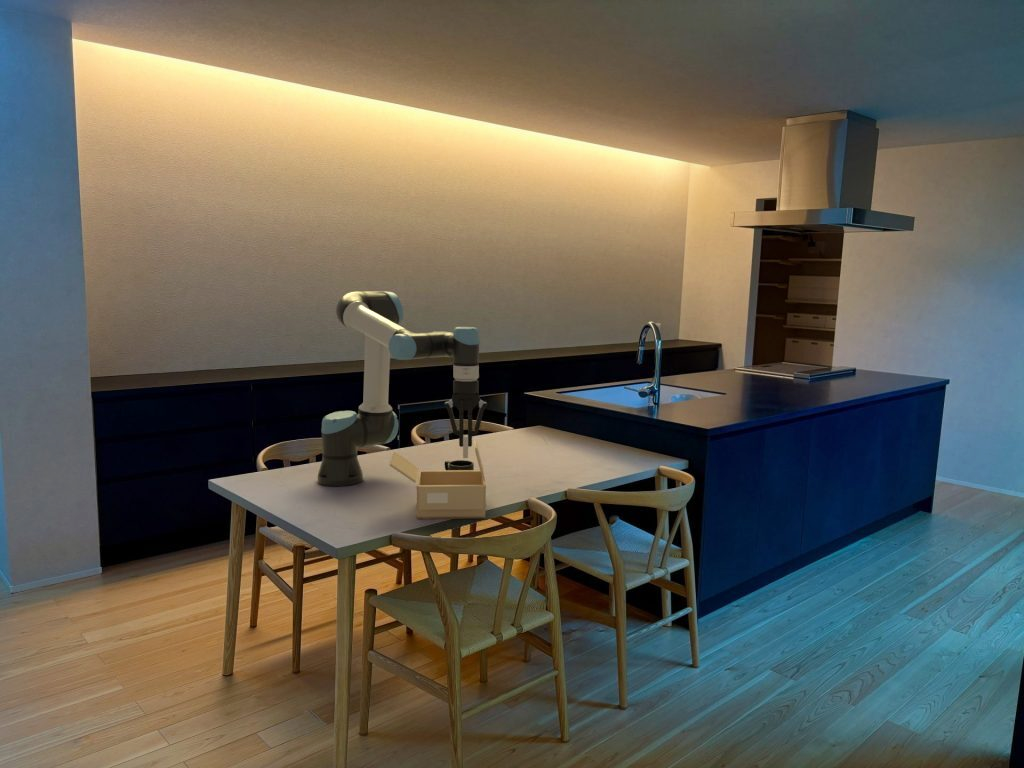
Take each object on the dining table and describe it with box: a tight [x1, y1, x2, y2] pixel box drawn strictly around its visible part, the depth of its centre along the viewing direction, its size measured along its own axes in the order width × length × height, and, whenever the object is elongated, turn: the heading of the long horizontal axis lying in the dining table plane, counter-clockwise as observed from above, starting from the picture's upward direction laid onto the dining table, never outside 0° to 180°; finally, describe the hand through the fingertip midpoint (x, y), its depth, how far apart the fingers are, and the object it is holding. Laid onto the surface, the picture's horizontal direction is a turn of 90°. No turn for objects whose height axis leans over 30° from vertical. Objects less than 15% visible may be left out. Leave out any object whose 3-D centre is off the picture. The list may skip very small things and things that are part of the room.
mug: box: [444, 459, 475, 470], centre depth 243 cm, size 8×12×10 cm
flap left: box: [389, 451, 419, 483], centre depth 219 cm, size 1×15×9 cm
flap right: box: [473, 439, 486, 481], centre depth 221 cm, size 1×15×9 cm, turn 4°
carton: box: [416, 469, 487, 520], centre depth 222 cm, size 20×18×10 cm
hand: (465, 457), depth 220 cm, fingers closed
